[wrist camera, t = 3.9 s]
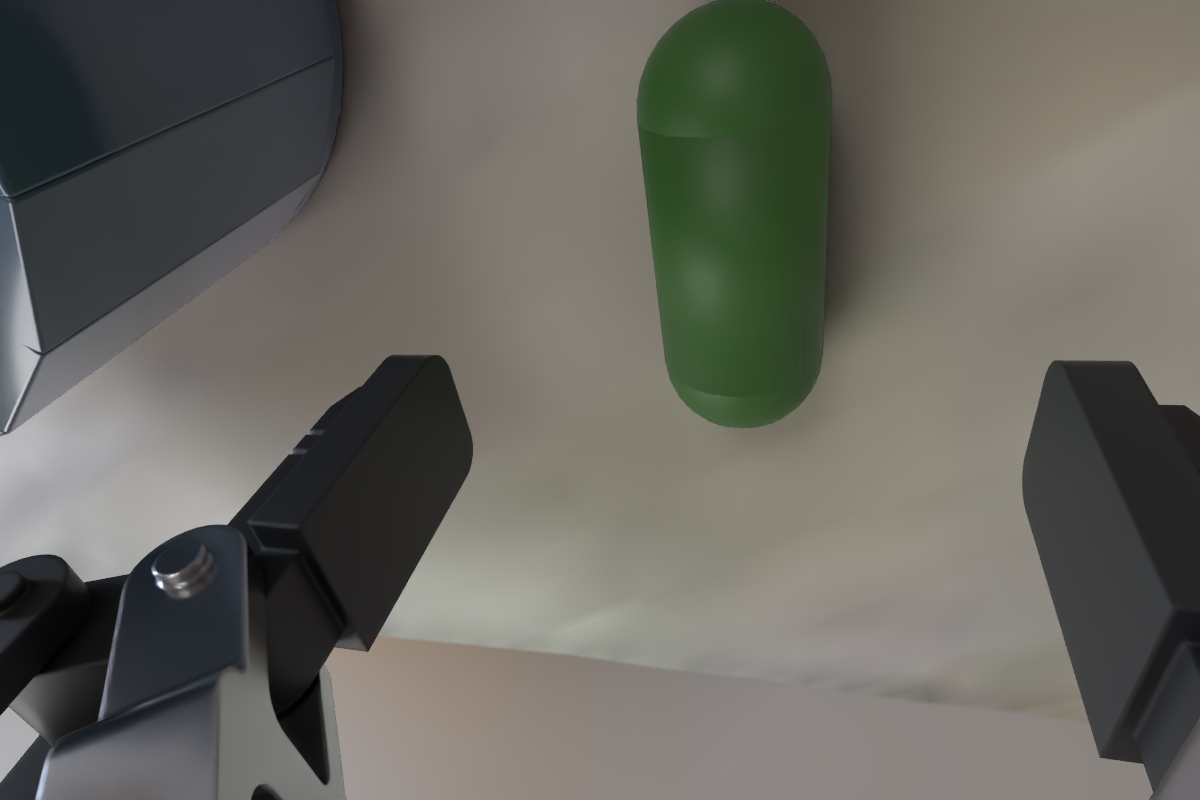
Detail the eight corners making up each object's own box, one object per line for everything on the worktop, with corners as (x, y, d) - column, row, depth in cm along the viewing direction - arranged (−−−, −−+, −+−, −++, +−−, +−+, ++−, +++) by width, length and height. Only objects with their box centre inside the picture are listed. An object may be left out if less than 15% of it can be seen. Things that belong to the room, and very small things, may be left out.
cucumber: (820, 371, 18) (821, 464, 15) (683, 370, 19) (661, 457, 16) (834, -31, 13) (838, 3, 10) (645, -4, 14) (604, 32, 11)
